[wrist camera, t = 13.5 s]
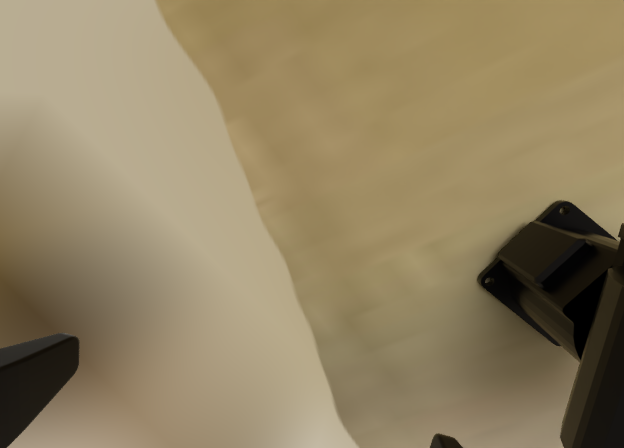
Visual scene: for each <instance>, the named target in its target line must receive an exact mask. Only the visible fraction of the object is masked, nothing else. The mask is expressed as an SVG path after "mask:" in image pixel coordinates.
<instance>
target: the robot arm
mask: <svg viewBox="0 0 624 448" xmlns="http://www.w3.org/2000/svg"><path fill="white" fill-rule="evenodd" d="M563 206H564V207H565V211H564V212H563V213H560V208H561V207H563ZM618 237H620V238H621V240H620V242H619V241H617V240H616V239H615V238H614V237H613V236H611V235H610V234H609V233H608V232H606V231H605V230H604V229H603V228H602V227H600V226H599V225H598V224H597V223H595V222H594V221H593V220H592V219H591V218H589V217H588V216H587V215H586V214H585V213H583V212H582V211H581V210H580V209H578V208H577V207H576V206H575V205H574V204H572V203H571V202H568V201H562V200H560V201H556V202H555V203H553V204H552V205H551V206H550V207H549V208H548V209H547V210H546V211H545V212H544V213H543V214H542V215H541V216H540V217H539V218H538V219H537V220H536V221H534V222H530V223H529V224H528V225H527V226H526V227H525V228H524V229H523V230H522V231H521V232H520V233H519V234H518V235H517V236H516V237H515V238H513V239H512V240H511V241H510V242H509V243H508V244H507V245H506V246H505V247H504V248H503V249H502V250H501V251H500V252H499V257H497V258H496V259H495V260H494V261H493V262H492V263H491V264H490V265H489V266H488V267H487V268H486V269H485V270H484V271H483V272H482V273H481V274H480V275H479V277H478V281H479V283H480V284H481V286H482V287H483V288H485V289H486V290H487V291H488V292H490V293H491V294H492V295H493V296H495V297H496V298H497V299H498V300H500V301H501V302H502V303H503V304H505V305H506V306H507V307H508V308H510V309H511V310H512V311H513V312H514V313H516V314H517V315H518V316H519V317H521V318H522V319H523V320H524V321H526V322H527V323H528V324H529V325H531V326H532V327H533V328H534V329H536V330H537V331H538V332H539V333H541V334H542V335H543V336H544V337H546V338H547V339H548V340H549V341H551V342H552V343H553V344H555V345H556V346H562V347H563V348H564V349H566V350H567V351H568V352H569V353H570V354H571V355H572V356H573V357H574V358H575V359H576V360H578V361H579V362H580V365H579V368H578V371H577V375H576V378H575V382H574V385H573V388H572V392H571V395H570V398H569V402H568V405H567V408H566V412H565V415H564V419H563V422H562V428H561V434H560V438H561V441H562V443H563V446H564V448H624V223H622V225H621V228H620V231H619V235H618ZM490 277H491V281H490V282H489V283H485V280H486V279H487V278H490ZM78 365H79V339H78V338H77V337H76V336H73V335H69V334H65V333H58V334H54V335H51V336H47V337H43V338H39V339H35V340H32V341H28V342H24V343H20V344H16V345H13V346H9V347H5V348H1V349H0V448H7V447H8V446H9V445H10V444H11V443H12V442H13V441H14V440H15V439H16V438H17V437H18V436H19V435H20V434H21V433H22V432H23V431H24V430H25V429H26V428H27V426H28V425H29V424H30V423H31V422H32V421H33V420H34V419H35V418H36V417H37V415H38V414H39V413H40V412H41V411H42V410H43V408H44V407H45V406H46V405H47V404H48V403H49V402H50V401H51V400H52V399H53V397H54V396H55V395H56V394H57V393H58V392H59V391H60V390H61V388H62V387H63V386H64V385H65V384H66V383H67V382H68V381H69V380H70V378H71V377H72V376H73V375H74V374H75V372H76V370H77V368H78ZM430 448H463V447H462V446H461V445H460V444H459V442H458V441H457V440H456V439H455V438H453V437H450V436H446V435H443V434H435V436H434V437H433V440H432V443H431V446H430Z"/></svg>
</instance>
